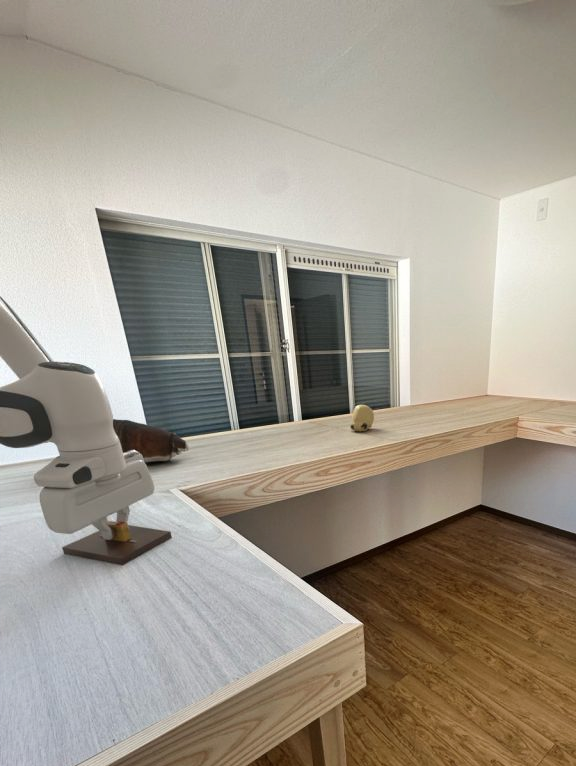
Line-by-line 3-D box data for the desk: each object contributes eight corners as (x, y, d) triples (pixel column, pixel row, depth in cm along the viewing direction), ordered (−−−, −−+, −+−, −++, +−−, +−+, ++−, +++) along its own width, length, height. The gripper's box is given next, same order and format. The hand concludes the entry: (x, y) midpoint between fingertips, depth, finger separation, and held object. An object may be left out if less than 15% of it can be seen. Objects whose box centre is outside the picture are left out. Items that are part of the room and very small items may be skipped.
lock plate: (66, 562, 75) (61, 546, 74) (119, 536, 85) (115, 522, 84) (125, 573, 71) (120, 557, 70) (174, 545, 81) (170, 530, 79)
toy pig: (352, 437, 181) (343, 424, 171) (358, 413, 184) (349, 399, 175) (373, 438, 177) (365, 425, 168) (379, 413, 181) (371, 399, 171)
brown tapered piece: (186, 427, 129) (92, 417, 121) (185, 476, 132) (93, 469, 124) (192, 425, 143) (107, 416, 134) (191, 469, 146) (108, 463, 138)
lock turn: (104, 539, 77) (99, 522, 75) (110, 536, 78) (105, 519, 77) (125, 541, 76) (120, 524, 74) (131, 538, 77) (126, 521, 76)
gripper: (125, 446, 81) (142, 511, 87) (22, 479, 63) (52, 559, 68) (153, 447, 80) (169, 513, 85) (56, 481, 61) (84, 562, 67)
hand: (116, 534), depth 77 cm, fingers closed, pressing on lock turn
